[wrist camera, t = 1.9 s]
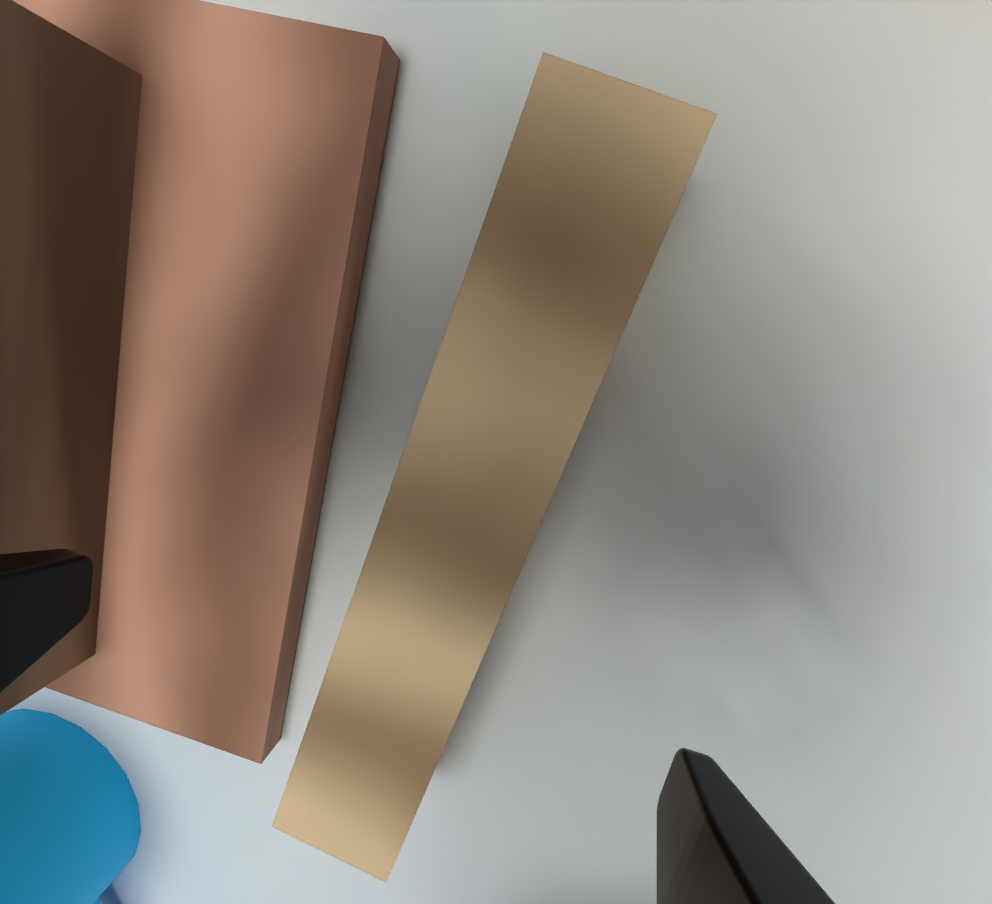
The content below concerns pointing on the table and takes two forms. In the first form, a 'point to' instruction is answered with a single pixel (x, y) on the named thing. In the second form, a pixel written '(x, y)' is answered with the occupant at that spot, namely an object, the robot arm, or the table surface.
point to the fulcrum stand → (179, 335)
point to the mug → (60, 812)
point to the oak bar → (489, 445)
